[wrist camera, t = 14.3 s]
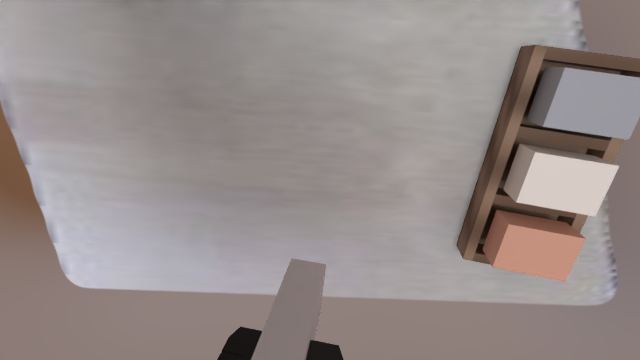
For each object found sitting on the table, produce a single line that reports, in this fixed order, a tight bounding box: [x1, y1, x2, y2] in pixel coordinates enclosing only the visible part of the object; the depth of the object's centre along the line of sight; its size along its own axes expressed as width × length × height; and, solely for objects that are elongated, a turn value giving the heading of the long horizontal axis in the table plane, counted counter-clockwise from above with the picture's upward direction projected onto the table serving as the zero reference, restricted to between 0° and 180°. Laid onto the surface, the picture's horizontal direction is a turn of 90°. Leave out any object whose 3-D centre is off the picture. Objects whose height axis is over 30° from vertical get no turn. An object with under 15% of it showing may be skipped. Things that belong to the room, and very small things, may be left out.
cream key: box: [503, 144, 619, 216], centre depth 30 cm, size 5×7×3 cm
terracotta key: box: [482, 210, 586, 282], centre depth 33 cm, size 5×7×3 cm
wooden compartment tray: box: [457, 45, 640, 264], centre depth 33 cm, size 22×10×3 cm, turn 172°
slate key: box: [527, 67, 640, 140], centre depth 28 cm, size 5×7×3 cm
